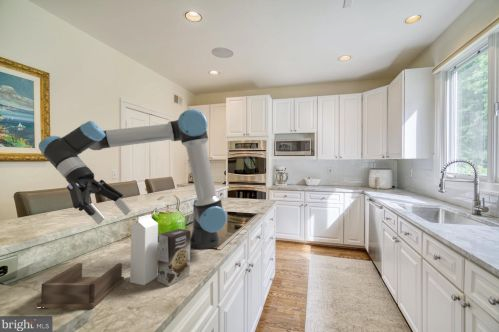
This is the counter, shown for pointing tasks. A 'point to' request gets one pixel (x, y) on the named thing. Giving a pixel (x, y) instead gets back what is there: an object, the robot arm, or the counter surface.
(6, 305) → the counter surface
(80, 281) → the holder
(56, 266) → the counter surface
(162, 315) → the counter surface
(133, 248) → the milk
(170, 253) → the cookie box
